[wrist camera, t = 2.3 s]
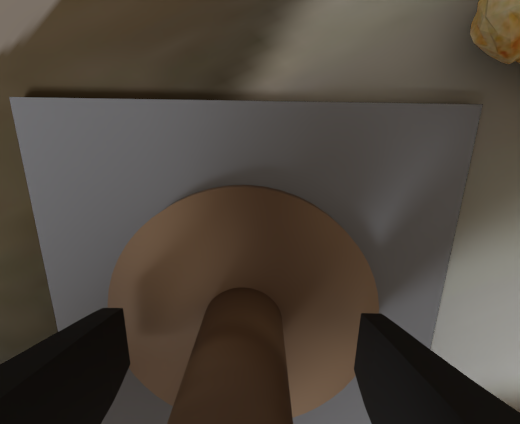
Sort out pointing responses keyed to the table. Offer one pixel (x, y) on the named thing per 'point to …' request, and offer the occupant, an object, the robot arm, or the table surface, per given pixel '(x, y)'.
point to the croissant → (498, 29)
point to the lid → (242, 305)
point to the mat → (246, 173)
